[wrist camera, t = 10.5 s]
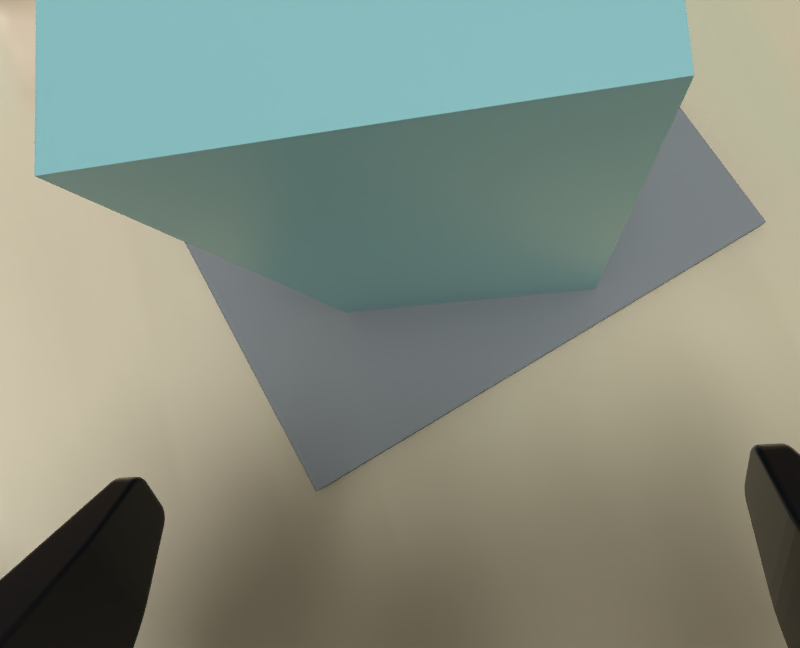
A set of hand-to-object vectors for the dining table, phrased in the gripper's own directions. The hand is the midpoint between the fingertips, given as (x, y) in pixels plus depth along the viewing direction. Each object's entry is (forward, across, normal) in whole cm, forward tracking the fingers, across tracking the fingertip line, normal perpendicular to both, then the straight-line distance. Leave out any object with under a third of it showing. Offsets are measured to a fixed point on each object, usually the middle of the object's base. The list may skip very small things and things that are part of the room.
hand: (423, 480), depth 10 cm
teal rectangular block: (+11, 0, +1) cm, 11 cm away
